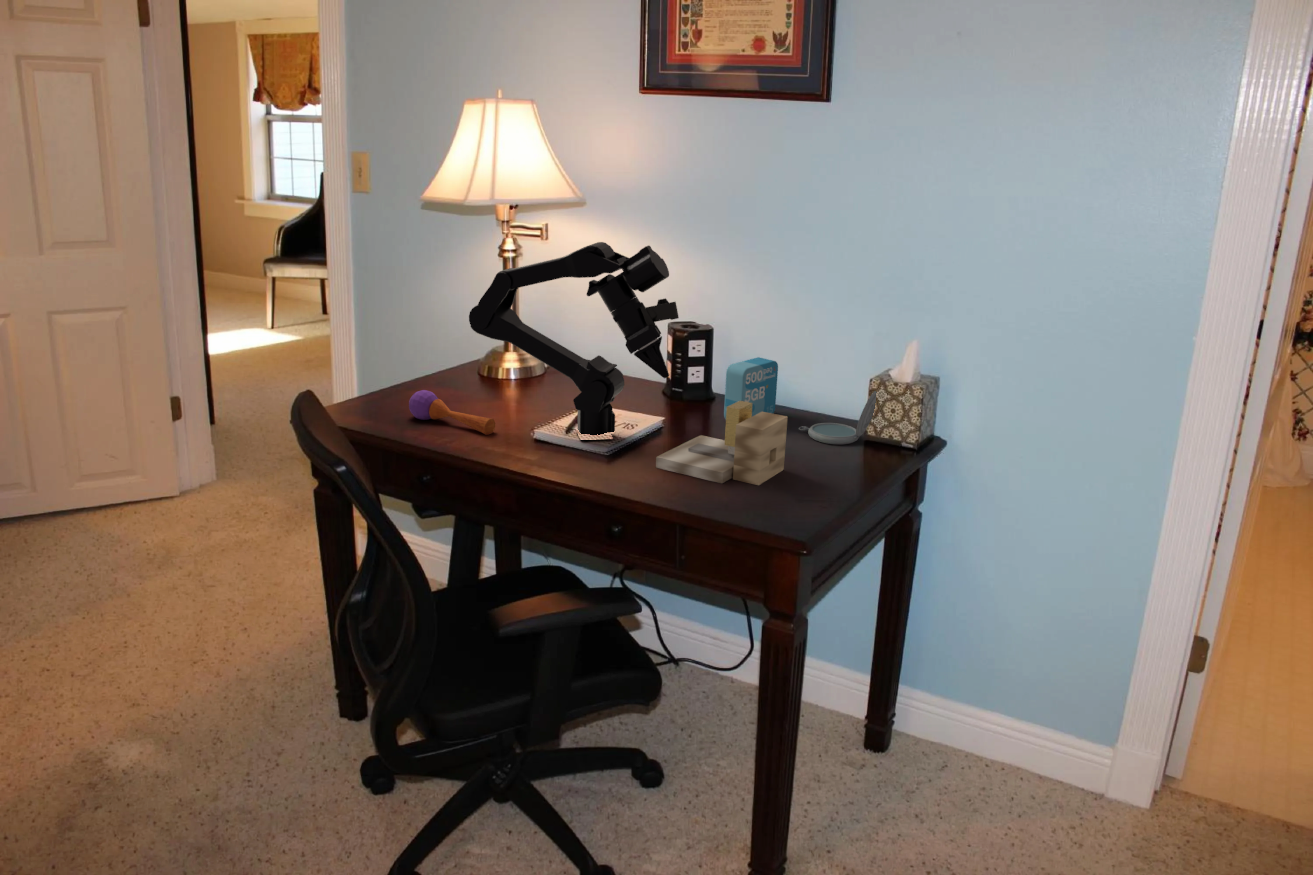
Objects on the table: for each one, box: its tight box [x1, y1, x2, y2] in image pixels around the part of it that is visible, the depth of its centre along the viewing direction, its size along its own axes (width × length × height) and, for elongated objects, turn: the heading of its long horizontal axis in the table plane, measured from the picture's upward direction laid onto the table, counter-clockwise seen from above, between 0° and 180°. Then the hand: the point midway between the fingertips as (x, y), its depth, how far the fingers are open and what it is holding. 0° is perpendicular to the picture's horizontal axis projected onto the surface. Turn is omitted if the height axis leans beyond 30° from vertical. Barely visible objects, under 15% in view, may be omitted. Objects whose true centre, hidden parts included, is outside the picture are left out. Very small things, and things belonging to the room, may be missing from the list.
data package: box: [723, 356, 779, 420], centre depth 220 cm, size 12×4×12 cm, turn 138°
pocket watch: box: [798, 390, 877, 445], centre depth 209 cm, size 10×11×15 cm
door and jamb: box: [655, 412, 789, 486], centre depth 191 cm, size 19×16×10 cm
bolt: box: [724, 401, 752, 455], centre depth 188 cm, size 7×5×9 cm
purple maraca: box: [408, 389, 496, 436], centre depth 210 cm, size 6×6×20 cm
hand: (667, 377), depth 199 cm, fingers closed
